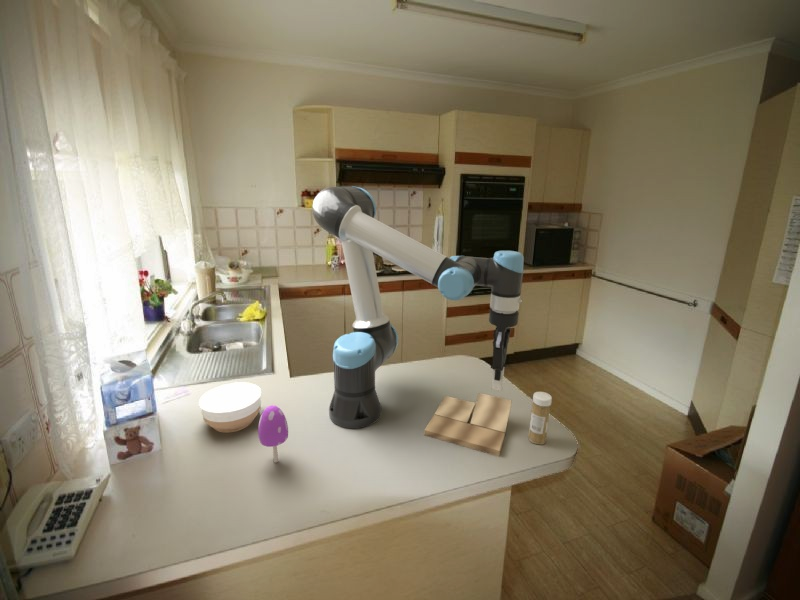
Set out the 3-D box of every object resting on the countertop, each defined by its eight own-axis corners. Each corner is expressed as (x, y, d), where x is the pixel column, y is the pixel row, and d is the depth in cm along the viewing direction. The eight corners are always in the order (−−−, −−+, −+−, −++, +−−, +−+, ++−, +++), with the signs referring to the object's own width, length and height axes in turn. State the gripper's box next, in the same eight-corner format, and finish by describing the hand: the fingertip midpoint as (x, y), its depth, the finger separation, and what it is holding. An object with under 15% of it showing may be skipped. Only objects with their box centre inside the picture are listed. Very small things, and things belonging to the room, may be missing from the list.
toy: (274, 474, 90) (269, 418, 86) (255, 463, 93) (249, 408, 89) (296, 458, 95) (292, 404, 91) (277, 448, 99) (273, 396, 94)
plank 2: (470, 425, 109) (470, 423, 108) (478, 394, 115) (478, 392, 114) (505, 434, 105) (505, 432, 104) (511, 402, 111) (511, 400, 110)
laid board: (424, 435, 105) (424, 429, 105) (435, 416, 113) (435, 412, 113) (498, 456, 97) (499, 450, 97) (505, 435, 106) (505, 430, 105)
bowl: (238, 400, 120) (236, 377, 118) (275, 415, 113) (273, 391, 110) (189, 426, 107) (185, 401, 105) (227, 446, 99) (224, 419, 97)
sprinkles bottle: (549, 441, 103) (555, 396, 100) (538, 447, 101) (544, 401, 97) (534, 432, 107) (540, 389, 103) (523, 438, 105) (529, 393, 101)
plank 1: (434, 417, 112) (434, 414, 112) (444, 398, 121) (445, 395, 121) (466, 425, 109) (466, 422, 108) (475, 406, 117) (475, 402, 117)
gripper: (515, 318, 96) (506, 402, 103) (521, 304, 108) (513, 381, 115) (485, 314, 99) (478, 396, 106) (494, 301, 111) (488, 376, 118)
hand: (497, 388), depth 110 cm, fingers closed
